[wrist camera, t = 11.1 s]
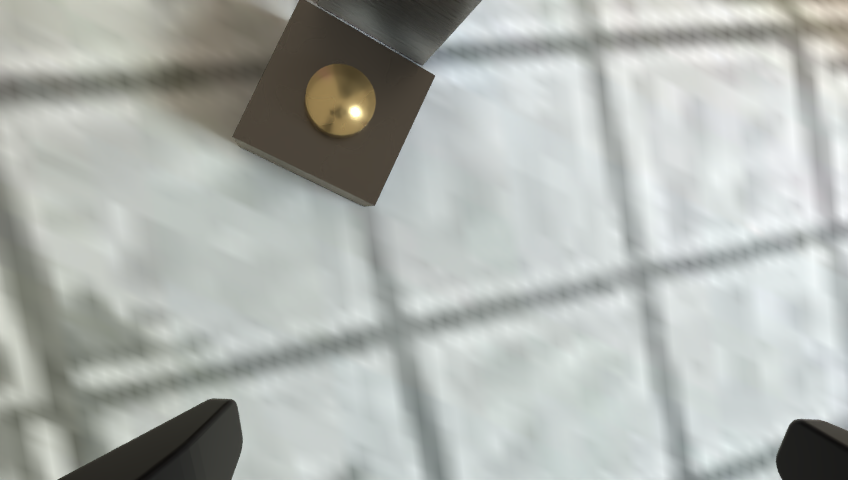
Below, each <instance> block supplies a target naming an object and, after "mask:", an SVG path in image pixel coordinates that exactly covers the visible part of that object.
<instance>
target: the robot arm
mask: <svg viewBox="0 0 848 480" xmlns="http://www.w3.org/2000/svg"><path fill="white" fill-rule="evenodd" d="M242 443H243V437H242V430H241V424H240V419H239V413H238V407H237V404H236V402H235V401H234V400H232V399H209V400H207V401H205V402H203V403H201V404H199V405H197V406H195V407H193V408H192V409H190V410H188V411H186V412H184V413H182V414H180V415H178V416H177V417H175V418H173V419H171V420H169V421H167V422H165V423H163V424H161V425H160V426H158V427H156V428H154V429H152V430H150V431H148V432H146V433H145V434H143V435H141V436H139V437H137V438H135V439H133V440H131V441H129V442H128V443H126V444H124V445H122V446H120V447H118V448H116V449H114V450H112V451H111V452H109V453H107V454H105V455H103V456H101V457H99V458H97V459H96V460H94V461H92V462H90V463H88V464H86V465H84V466H82V467H80V468H79V469H77V470H75V471H73V472H71V473H69V474H67V475H65V476H64V477H62V478H60V479H58V480H231V479H232V476H233V473H234V471H235V468H236V465H237V462H238V460H239V457H240V454H241V450H242ZM776 465H777V469H778V472H779V474H780V476H781V478H782V480H848V431H847V430H844V429H842V428H840V427H837V426H835V425H832V424H830V423H828V422H825V421H821V420H811V419H797V420H794V421H793V422H792V423H790V425H789V427H788V429H787V432H786V434H785V436H784V439H783V441H782V443H781V446H780V448H779V450H778V453H777V456H776Z"/></svg>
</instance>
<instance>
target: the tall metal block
mask: <svg viewBox="0 0 848 480" xmlns="http://www.w3.org/2000/svg"><path fill="white" fill-rule="evenodd" d="M481 1H482V0H318V5H319V6H320V7H322V8H324V9H326V10H327V11H329V12H331V13H333V14H334V15H336V16H338V17H339V18H341V19H343V20H345V21H346V22H348V23H350V24H352V25H353V26H355V27H357V28H358V29H360V30H362V31H364V32H365V33H367V34H369V35H371V36H372V37H374V38H376V39H378V40H379V41H381V42H383V43H384V44H386V45H388V46H390V47H391V48H393V49H395V50H397V51H398V52H400V53H402V54H403V55H405V56H407V57H409V58H410V59H412V60H414V61H416V62H417V63H419V64H421V65H424V64H425V63H426V62H427V60H428V59H429V58H430V57H431V56H432V55H433V54H434V53H435V52H436V51H437V49H438V48H439V47H440V46H441V45H442V44H443V43H444V42H445V41H446V39H447V38H448V37H449V36H450V35H451V34H452V33H453V32H454V31H455V30H456V28H457V27H458V26H459V25H460V24H461V23H462V22H463V21H464V20H465V19H466V17H467V16H468V15H469V14H470V13H471V12H472V11H473V10H474V9H475V7H476V6H477V5H478V4H479V3H480V2H481Z"/></svg>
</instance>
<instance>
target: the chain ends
mask: <svg viewBox="0 0 848 480" xmlns="http://www.w3.org/2000/svg"><path fill="white" fill-rule="evenodd" d="M434 77H435V75H433V74H432V73H430V72H428V71H426V70H425V69H423V68H421V67H419V66H418V65H416V64H414V63H413V62H411V61H409V60H407V59H406V58H404V57H402V56H400V55H399V54H397V53H395V52H394V51H392V50H390V49H388V48H387V47H385V46H383V45H381V44H380V43H378V42H376V41H375V40H373V39H371V38H369V37H368V36H366V35H364V34H363V33H361V32H359V31H357V30H356V29H354V28H352V27H350V26H349V25H347V24H345V23H344V22H342V21H340V20H338V19H337V18H335V17H333V16H331V15H330V14H328V13H326V12H325V11H323V10H321V9H319V8H318V7H316V6H314V5H312V4H311V3H309V2H307V1H306V0H299V2H298V4H297V6H296V8H295V10H294V12H293V14H292V16H291V18H290V20H289V22H288V24H287V26H286V28H285V30H284V32H283V35H282V37H281V39H280V41H279V43H278V45H277V47H276V49H275V51H274V53H273V55H272V57H271V59H270V61H269V63H268V65H267V67H266V69H265V71H264V73H263V75H262V77H261V79H260V81H259V83H258V86H257V88H256V90H255V92H254V94H253V96H252V98H251V100H250V102H249V104H248V106H247V108H246V110H245V112H244V114H243V116H242V118H241V120H240V122H239V124H238V126H237V128H236V130H235V132H234V134H233V138H234V140H235V141H236V142H237V144H238V145H239V147H241V148H243V149H245V150H247V151H249V152H251V153H253V154H255V155H258V156H260V157H262V158H264V159H266V160H268V161H270V162H272V163H274V164H276V165H278V166H281V167H283V168H285V169H287V170H289V171H291V172H293V173H295V174H297V175H299V176H301V177H303V178H306V179H308V180H310V181H312V182H314V183H316V184H318V185H320V186H322V187H324V188H326V189H328V190H331V191H333V192H335V193H337V194H339V195H341V196H343V197H345V198H347V199H349V200H351V201H354V202H356V203H358V204H360V205H362V206H364V207H365V206H375V204H376V202H377V200H378V198H379V195H380V193H381V191H382V189H383V187H384V185H385V183H386V180H387V178H388V176H389V174H390V172H391V170H392V167H393V165H394V163H395V161H396V159H397V157H398V155H399V152H400V150H401V148H402V146H403V144H404V142H405V139H406V137H407V135H408V133H409V131H410V129H411V127H412V124H413V122H414V120H415V118H416V116H417V114H418V112H419V109H420V107H421V105H422V103H423V101H424V99H425V96H426V94H427V92H428V90H429V88H430V86H431V84H432V81H433V79H434Z"/></svg>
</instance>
